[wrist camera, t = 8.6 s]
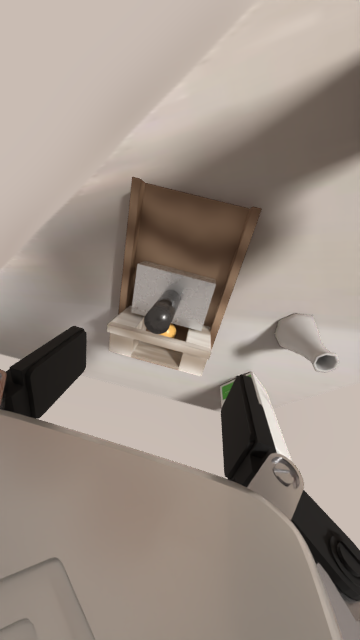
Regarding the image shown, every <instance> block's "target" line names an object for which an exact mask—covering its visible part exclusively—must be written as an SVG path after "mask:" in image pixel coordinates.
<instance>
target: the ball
mask: <svg viewBox="0 0 360 640" xmlns="http://www.w3.org/2000/svg"><path fill="white" fill-rule="evenodd" d="M159 335H163V336H167V337H170V338H174V337H175V335H176V328H175V326H174V324H172V323H171V324H170V327H169V329H168V330H167V331H166V332H165V333H163V334H159Z"/></svg>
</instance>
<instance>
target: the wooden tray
mask: <svg viewBox="0 0 360 640" xmlns="http://www.w3.org/2000/svg"><path fill="white" fill-rule="evenodd" d="M261 210H262V209H261V208H257V207H252V208H250V209H249V208H245V207H241V206H237V205H233V204H229V203H225V202H221V201H217V200H213V199H208V198H204V197H200V196H196V195H192V194H188V193H184V192H180V191H176V190H172V189H168V188H164V187H160V186H156V185H152V184H148V183H145V182H144V181H143V180H142V179H139V178H135V177H132V185H131V194H130V204H129V214H128V224H127V234H126V244H125V254H124V264H123V274H122V283H121V293H120V303H119V313H118V316H117V317H116V318H115V319H113V320H112V321H111V322H110V323H109V324H107V332H110V341H109V351H110V352H114V353H118V354H121V355H125V356H129V357H132V358H136V359H139V360H143V361H147V362H150V363H154V364H157V365H161V366H165V367H168V368H172V369H176V370H179V371H183V372H186V373H190V374H194V375H197V376H201V375H202V372H203V370H204V367H205V364H206V361H207V359H208V360H209V357H210V355H211V349H212V347H213V344H214V341H215V338H216V335H217V333H218V330H219V327H220V324H221V321H222V319H223V316H224V313H225V310H226V307H227V305H228V302H229V299H230V296H231V293H232V291H233V288H234V285H235V282H236V279H237V277H238V274H239V271H240V268H241V265H242V263H243V260H244V257H245V254H246V252H247V249H248V246H249V243H250V240H251V238H252V235H253V232H254V229H255V226H256V224H257V221H258V218H259V215H260V212H261ZM144 261H148V262H151V263H155V264H159V265H163V266H167V267H171V268H175V269H178V270H182V271H186V272H190V273H194V274H198V275H201V276H205V277H209V278H213V279H215V281H216V286H215V289H214V293H213V296H212V299H211V302H210V305H209V308H208V312H207V315H206V318H205V321H204V324H203V327H202V331H198V330H195V329H191V328H187V327H184V326H180V325H176V324H174V326H175V328H176V335H175V337H174V338H170V337H167V336H163V335H159V334H154V333H152V332H150V331H149V330H148V329H147V328H146V327H145V324H144V317H145V316H143V315H139V314H135V313H132V312H131V310H132V302H133V294H134V287H135V279H136V271H137V264H138V263H141V262H144Z"/></svg>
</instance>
